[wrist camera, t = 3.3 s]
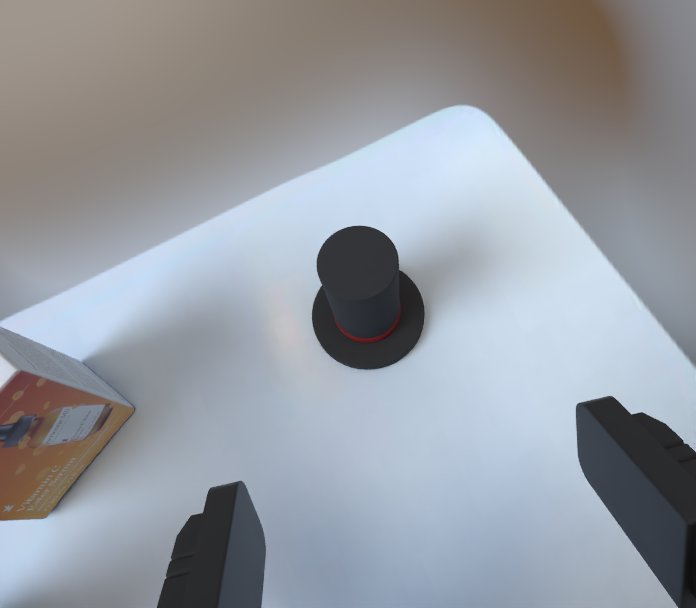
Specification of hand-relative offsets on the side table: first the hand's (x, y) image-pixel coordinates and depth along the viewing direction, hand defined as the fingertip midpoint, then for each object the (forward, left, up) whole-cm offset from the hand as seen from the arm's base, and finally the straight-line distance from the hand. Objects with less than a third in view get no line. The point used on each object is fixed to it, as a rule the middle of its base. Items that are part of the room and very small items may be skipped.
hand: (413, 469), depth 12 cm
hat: (0, -10, -18) cm, 20 cm away
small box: (+20, -7, -18) cm, 28 cm away
